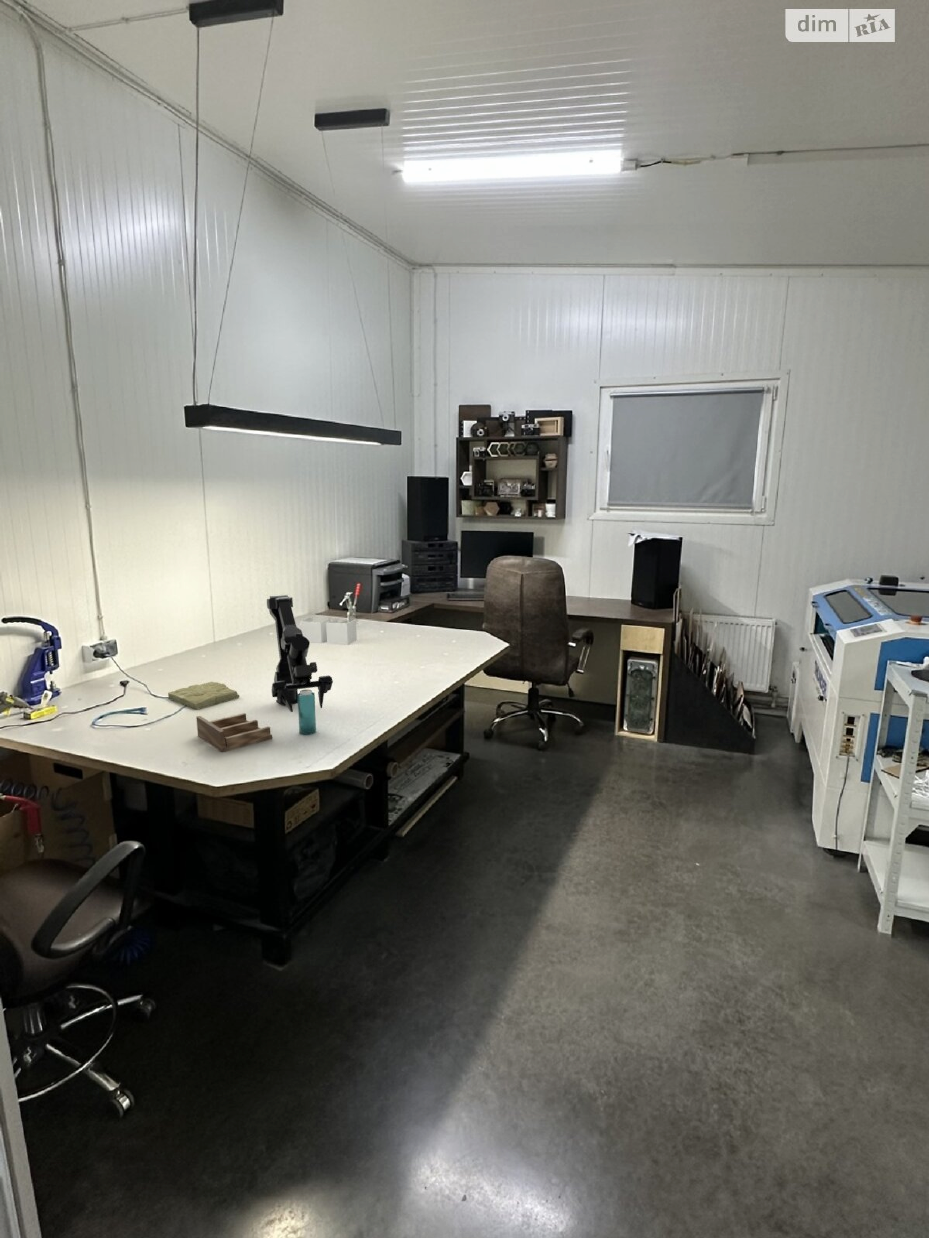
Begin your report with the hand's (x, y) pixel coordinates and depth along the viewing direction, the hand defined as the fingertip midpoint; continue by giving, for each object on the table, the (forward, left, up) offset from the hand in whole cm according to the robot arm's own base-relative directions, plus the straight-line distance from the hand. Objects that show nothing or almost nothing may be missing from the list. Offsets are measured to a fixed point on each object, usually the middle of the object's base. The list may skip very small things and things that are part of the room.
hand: (306, 709), depth 212 cm
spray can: (0, 0, -8) cm, 8 cm away
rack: (+19, -12, -8) cm, 23 cm away
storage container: (-72, -106, -8) cm, 128 cm away
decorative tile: (+10, -57, -8) cm, 58 cm away
